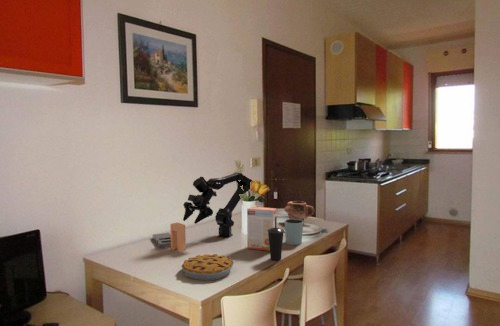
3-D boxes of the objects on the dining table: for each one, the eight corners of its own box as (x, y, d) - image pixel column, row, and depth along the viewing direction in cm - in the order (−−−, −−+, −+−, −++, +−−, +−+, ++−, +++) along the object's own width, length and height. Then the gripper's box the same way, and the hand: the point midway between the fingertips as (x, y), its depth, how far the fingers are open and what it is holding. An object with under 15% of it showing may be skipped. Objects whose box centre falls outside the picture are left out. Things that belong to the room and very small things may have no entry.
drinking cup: (266, 256, 174) (266, 215, 172) (282, 256, 175) (282, 214, 173) (268, 262, 166) (268, 218, 165) (285, 261, 167) (285, 218, 165)
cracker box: (277, 248, 187) (277, 207, 185) (273, 251, 181) (273, 210, 179) (251, 245, 192) (251, 206, 190) (247, 248, 186) (246, 208, 185)
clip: (170, 249, 186) (170, 223, 185) (177, 247, 189) (176, 222, 188) (179, 252, 182) (178, 226, 181) (185, 250, 185) (185, 224, 184)
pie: (240, 265, 163) (240, 254, 163) (222, 284, 142) (222, 272, 142) (196, 260, 170) (195, 250, 169) (172, 278, 149) (171, 266, 148)
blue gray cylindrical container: (292, 239, 203) (292, 217, 202) (307, 242, 196) (307, 220, 195) (280, 242, 196) (280, 220, 195) (295, 246, 189) (295, 224, 188)
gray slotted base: (152, 238, 206) (152, 234, 206) (168, 236, 210) (168, 232, 210) (159, 248, 188) (159, 244, 188) (177, 245, 192) (176, 241, 192)
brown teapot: (315, 221, 242) (315, 201, 241) (313, 226, 231) (313, 204, 230) (286, 219, 248) (286, 199, 247) (282, 224, 237) (282, 202, 236)
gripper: (185, 187, 199) (169, 210, 191) (208, 190, 186) (191, 215, 179) (197, 199, 205) (181, 222, 198) (220, 203, 193) (204, 228, 185)
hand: (189, 221), depth 190 cm, fingers open, 9 cm apart
